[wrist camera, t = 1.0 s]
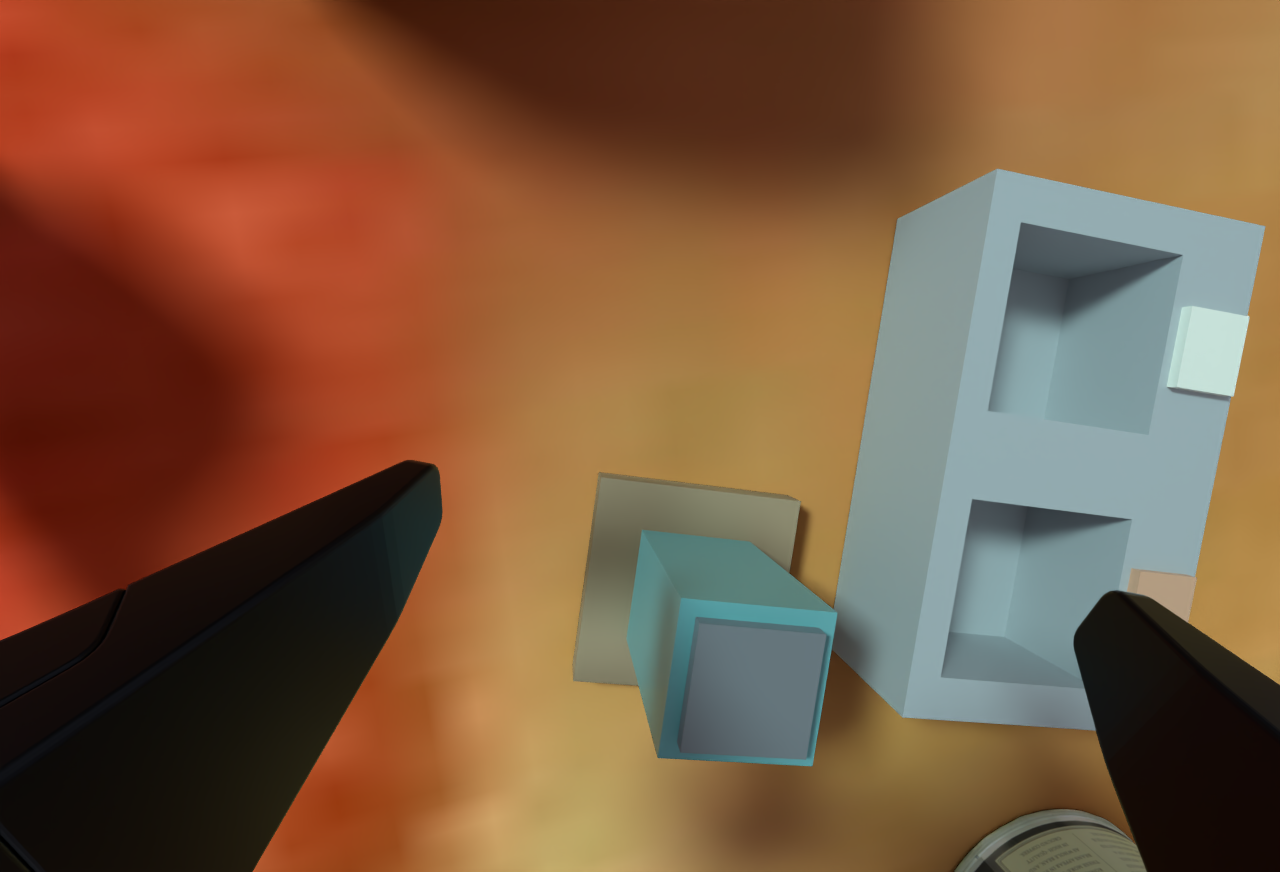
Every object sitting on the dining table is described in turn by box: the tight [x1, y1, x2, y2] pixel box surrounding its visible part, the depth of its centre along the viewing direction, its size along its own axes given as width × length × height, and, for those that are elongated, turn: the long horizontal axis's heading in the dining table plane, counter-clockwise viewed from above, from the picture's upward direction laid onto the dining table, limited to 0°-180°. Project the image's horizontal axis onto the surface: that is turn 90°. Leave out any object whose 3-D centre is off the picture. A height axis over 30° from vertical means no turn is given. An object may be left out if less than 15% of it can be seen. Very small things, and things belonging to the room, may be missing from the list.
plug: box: [626, 530, 837, 766], centre depth 17 cm, size 4×4×7 cm
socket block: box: [832, 169, 1265, 730], centre depth 20 cm, size 16×9×5 cm, turn 172°
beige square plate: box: [573, 472, 801, 686], centre depth 21 cm, size 7×7×1 cm
